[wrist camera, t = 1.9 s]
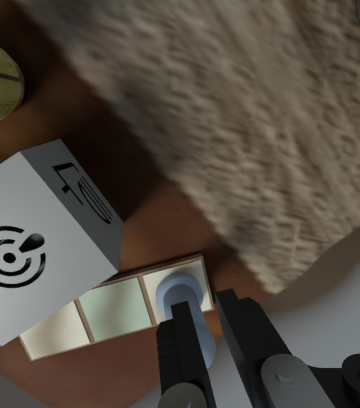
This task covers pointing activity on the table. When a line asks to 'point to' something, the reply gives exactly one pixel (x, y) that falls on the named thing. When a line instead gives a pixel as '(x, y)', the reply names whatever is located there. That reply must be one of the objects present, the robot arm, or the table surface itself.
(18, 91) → the sauce bottle
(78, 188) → the icon cube
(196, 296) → the pawn
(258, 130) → the table surface
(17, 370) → the table surface
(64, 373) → the table surface
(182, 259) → the board
